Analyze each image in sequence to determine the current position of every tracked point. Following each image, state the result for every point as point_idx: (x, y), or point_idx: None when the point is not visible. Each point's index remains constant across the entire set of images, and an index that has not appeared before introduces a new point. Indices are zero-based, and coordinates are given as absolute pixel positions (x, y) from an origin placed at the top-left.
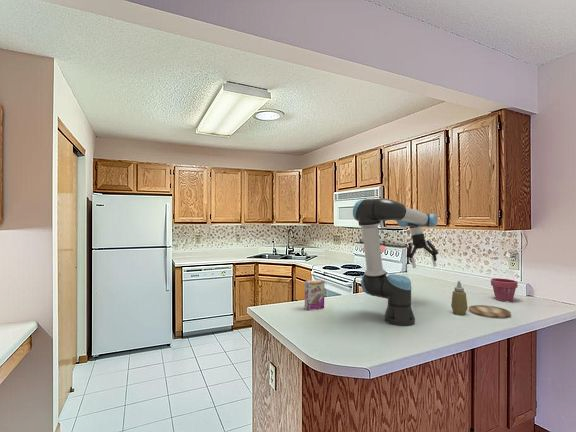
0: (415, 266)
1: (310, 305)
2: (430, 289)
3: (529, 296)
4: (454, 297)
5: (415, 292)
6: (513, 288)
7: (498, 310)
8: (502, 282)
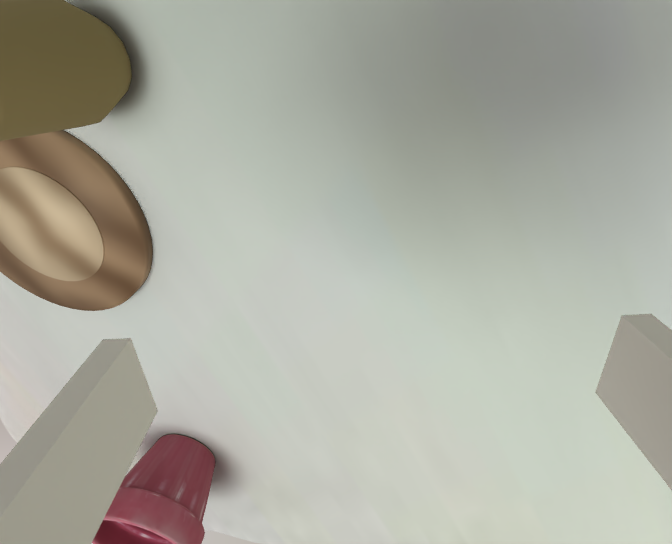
0: (616, 392)
1: None
2: (520, 469)
3: None
4: None
5: (583, 370)
6: None
7: (19, 247)
8: (109, 515)
